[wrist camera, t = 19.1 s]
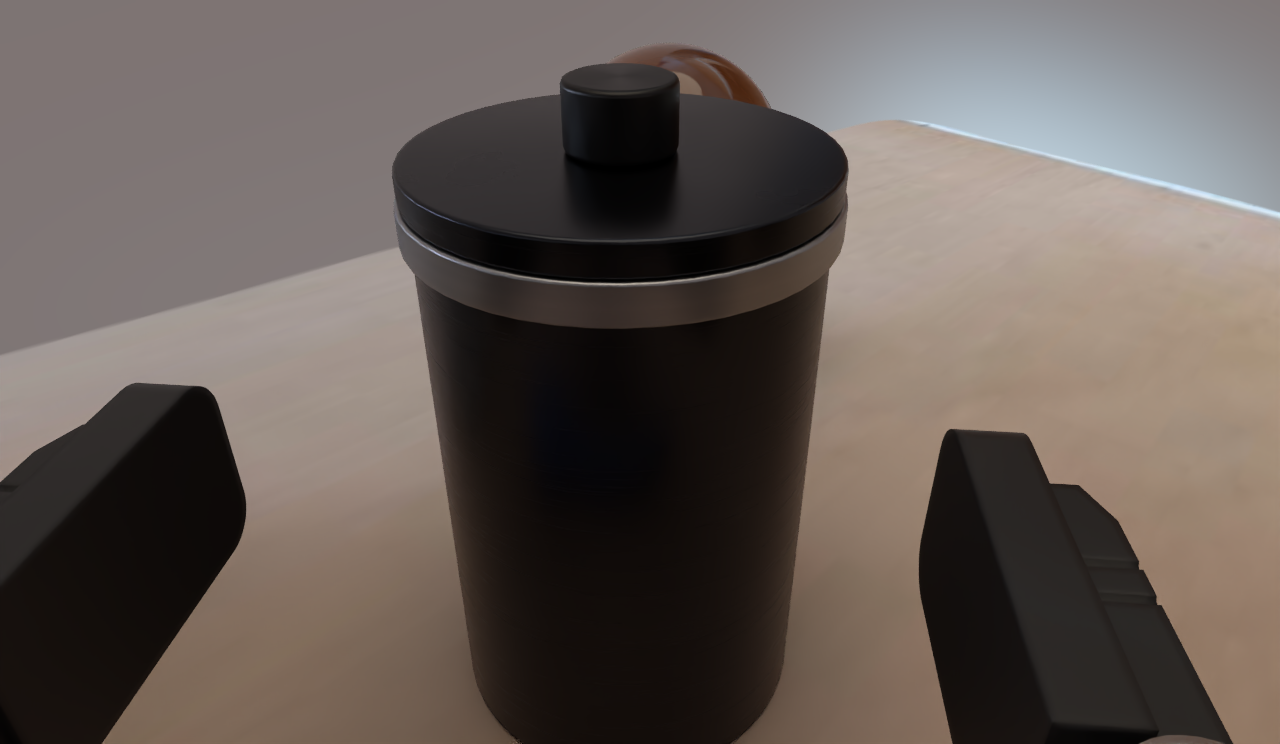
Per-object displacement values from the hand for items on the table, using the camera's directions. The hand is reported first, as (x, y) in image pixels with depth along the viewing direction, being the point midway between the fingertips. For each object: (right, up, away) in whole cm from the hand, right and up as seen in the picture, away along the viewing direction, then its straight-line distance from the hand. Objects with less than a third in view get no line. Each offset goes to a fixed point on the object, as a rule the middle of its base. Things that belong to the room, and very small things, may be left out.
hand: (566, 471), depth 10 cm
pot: (+1, -4, +8) cm, 9 cm away
